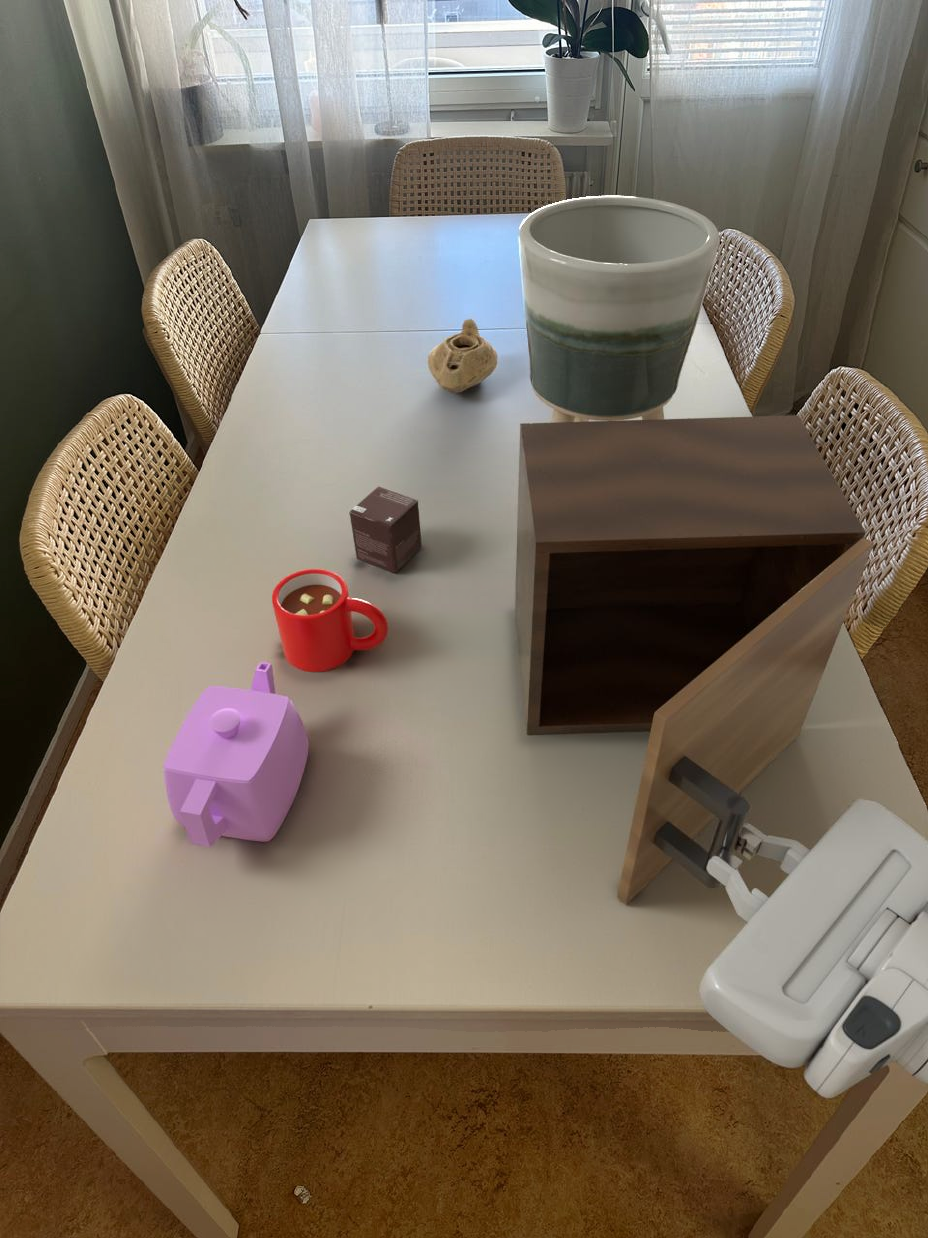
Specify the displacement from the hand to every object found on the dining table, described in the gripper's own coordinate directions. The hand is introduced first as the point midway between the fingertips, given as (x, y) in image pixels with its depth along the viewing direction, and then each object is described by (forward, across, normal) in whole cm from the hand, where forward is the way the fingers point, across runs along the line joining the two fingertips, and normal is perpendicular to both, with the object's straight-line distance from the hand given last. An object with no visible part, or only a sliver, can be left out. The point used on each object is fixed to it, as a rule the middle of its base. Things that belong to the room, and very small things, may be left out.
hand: (725, 845), depth 63 cm
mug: (+46, +2, +13) cm, 48 cm away
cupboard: (+21, -20, +12) cm, 32 cm away
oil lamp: (+80, -48, +13) cm, 94 cm away
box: (+55, -13, +13) cm, 58 cm away
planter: (+47, -42, +13) cm, 65 cm away
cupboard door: (+3, -10, +12) cm, 16 cm away
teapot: (+38, +19, +13) cm, 44 cm away
